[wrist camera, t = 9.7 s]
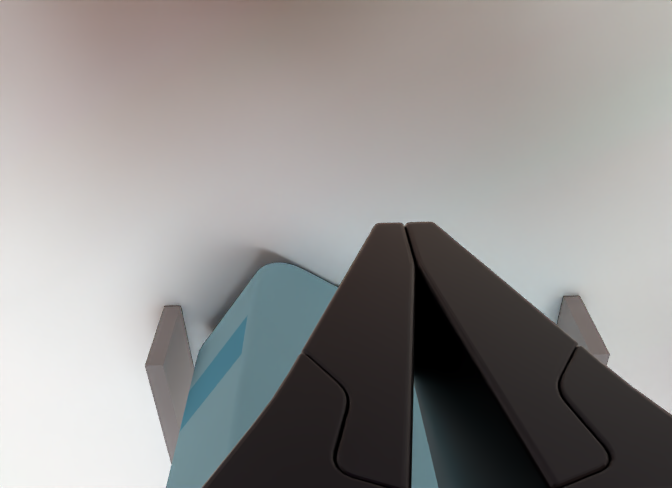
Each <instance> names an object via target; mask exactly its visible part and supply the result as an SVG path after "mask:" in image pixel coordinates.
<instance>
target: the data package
mask: <svg viewBox="0 0 672 488" xmlns="http://www.w3.org/2000/svg"><path fill="white" fill-rule="evenodd" d="M337 289H338V287H336V286H334V285H332V284H331V283H329V282H327V281H325V280H323V279H321V278H319V277H317V276H315V275H313V274H311V273H309V272H307V271H305V270H303V269H301V268H299V267H297V266H294V265H291V264H287V263H271V264H267V265H265V266H263V267H262V268H260V269H259V270H258V271H257V272H256V274H255V275H254V276H253V278H252V279H251V280H250V282H249V283H248V285H247V286H246V287H245V289H244V290H243V291H242V293H241V294H240V295H239V297H238V298H237V299H236V301H235V302H234V303H233V305H232V306H231V308H230V309H229V310H228V312H227V313H226V314H225V316H224V317H223V318H222V320H221V321H220V322H219V324H218V325H217V326H216V328H215V329H214V330H213V332H212V333H211V335H210V336H209V337H208V339H207V340H206V341H205V343H204V344H203V345H202V347H201V349H200V350H199V353H198V356H197V360H196V364H195V369H194V373H193V377H192V381H191V385H190V389H189V394H188V398H187V402H186V406H185V410H184V415H183V419H182V423H181V427H180V431H179V435H178V440H177V444H176V448H175V452H174V456H173V461H172V465H171V469H170V473H169V477H168V482H167V486H166V488H201V487H202V486H203V485H204V484H205V483H206V481H207V480H208V479H209V478H210V476H211V475H212V474H213V473H214V471H215V470H216V469H217V468H218V466H219V465H220V464H221V463H222V461H223V460H224V459H225V458H226V457H227V455H228V454H229V453H230V452H231V450H232V449H233V448H234V447H235V445H236V444H237V443H238V442H239V440H240V439H241V438H242V437H243V436H244V434H245V433H246V432H247V431H248V429H249V428H250V427H251V425H252V424H253V423H254V421H255V420H256V419H257V418H258V416H259V415H260V414H261V412H262V411H263V410H264V408H265V407H266V406H267V404H268V403H269V402H270V400H271V399H272V397H273V396H274V394H275V393H276V391H277V390H278V388H279V387H280V385H281V383H282V382H283V380H284V379H285V377H286V376H287V374H288V373H289V371H290V369H291V367H292V366H293V364H294V362H295V361H296V359H297V357H298V355H299V354H301V351H302V349H303V347H304V346H305V344H306V342H307V340H308V339H309V337H310V335H311V334H312V332H313V330H314V328H315V327H316V325H317V323H318V322H319V320H320V318H321V316H322V315H323V313H324V311H325V310H326V308H327V306H328V304H329V303H330V301H331V299H332V297H333V296H334V294H335V292H336V291H337ZM412 488H438V484H437V479H436V475H435V471H434V467H433V462H432V458H431V454H430V450H429V445H428V441H427V437H426V433H425V428H424V424H423V420H422V416H421V412H420V407H419V403H418V399H417V395H416V390H415V386H414V397H413V443H412Z"/></svg>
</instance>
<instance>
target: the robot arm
mask: <svg viewBox="0 0 672 488" xmlns="http://www.w3.org/2000/svg"><path fill="white" fill-rule="evenodd" d="M414 386H415V390H416V395H417V399H418V403H419V407H420V412H421V416H422V420H423V424H424V428H425V433H426V437H427V441H428V445H429V450H430V454H431V458H432V462H433V467H434V471H435V475H436V479H437V484H438V488H672V415H671V414H670V413H668V412H667V411H665V410H664V409H663V408H661V407H660V406H658V405H657V404H656V403H654V402H653V401H652V400H650V399H649V398H647V397H646V396H645V395H643V394H642V393H640V392H639V391H638V390H636V389H635V388H633V387H632V386H631V385H630V384H628V383H627V382H626V381H625V380H623V379H622V378H621V377H620V376H618V375H617V374H616V373H615V372H613V371H612V370H611V369H609V368H608V367H607V366H606V365H604V364H603V363H602V362H601V361H599V360H598V359H597V358H596V357H595V356H593V355H592V354H591V353H590V352H589V351H587V350H586V349H585V348H584V347H583V346H578V343H577V342H576V341H575V340H574V339H573V338H572V337H570V336H569V335H568V334H567V333H566V332H564V331H563V330H562V329H561V328H560V327H558V326H557V325H556V324H555V323H554V322H552V321H551V320H550V319H549V318H548V317H546V316H545V315H544V314H543V313H542V312H540V311H539V310H538V309H537V308H536V307H534V306H533V305H532V304H531V303H530V302H528V301H527V300H526V299H525V298H524V297H522V296H521V295H520V294H519V293H518V292H517V291H515V290H514V289H513V288H512V287H511V286H509V285H508V284H507V283H506V282H505V281H503V280H502V279H501V278H500V277H499V276H497V275H496V274H495V273H494V272H493V271H491V270H490V269H489V268H488V267H487V266H485V265H484V264H483V263H482V262H481V261H479V260H478V259H477V258H476V257H475V256H473V255H472V254H471V253H470V252H469V251H467V250H466V249H465V248H464V247H463V246H461V245H460V244H459V243H458V242H457V241H455V240H454V239H453V238H452V237H451V236H449V235H448V234H447V233H446V232H445V231H443V230H442V229H441V228H440V227H439V226H437V225H436V224H435V223H433V222H409V223H407V224H406V225H405V227H404V225H403V224H402V223H377V224H376V225H375V226H374V227H373V229H372V230H371V232H370V234H369V236H368V237H367V239H366V241H365V243H364V244H363V246H362V248H361V249H360V251H359V253H358V255H357V256H356V258H355V260H354V261H353V263H352V265H351V267H350V268H349V270H348V272H347V273H346V275H345V277H344V279H343V280H342V282H341V284H340V285H339V287H338V289H337V291H336V292H335V294H334V296H333V297H332V299H331V301H330V303H329V304H328V306H327V308H326V310H325V311H324V313H323V315H322V316H321V318H320V320H319V322H318V323H317V325H316V327H315V328H314V330H313V332H312V334H311V335H310V337H309V339H308V340H307V342H306V344H305V346H304V347H303V349H302V351H301V354H299V355H298V357H297V359H296V361H295V362H294V364H293V366H292V367H291V369H290V371H289V373H288V374H287V376H286V377H285V379H284V380H283V382H282V383H281V385H280V387H279V388H278V390H277V391H276V393H275V394H274V396H273V397H272V399H271V400H270V402H269V403H268V404H267V406H266V407H265V408H264V410H263V411H262V412H261V414H260V415H259V416H258V418H257V419H256V420H255V421H254V423H253V424H252V425H251V427H250V428H249V429H248V431H247V432H246V433H245V434H244V436H243V437H242V438H241V439H240V440H239V442H238V443H237V444H236V445H235V447H234V448H233V449H232V450H231V452H230V453H229V454H228V455H227V457H226V458H225V459H224V460H223V461H222V463H221V464H220V465H219V466H218V468H217V469H216V470H215V471H214V473H213V474H212V475H211V476H210V478H209V479H208V480H207V481H206V483H205V484H204V485H203V486H202V487H201V488H412V443H413V397H414Z"/></svg>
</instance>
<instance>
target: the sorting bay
mask: <svg viewBox="0 0 672 488" xmlns="http://www.w3.org/2000/svg"><path fill="white" fill-rule="evenodd" d="M557 326H558V327H560V328H561V329H562V330H563V331H564V332H566V333H567V334H568V335H569V336H570V337H572V338H573V339H574V340H575V341H576V342H577V343H578V346H583V347H584V348H585V349H586V350H587V351H589V352H590V353H591V354H592V355H593V356H595V357H596V358H597V359H598V360H599V361H601V362H602V363H603V364H604V365H607V362H608V359H609V355H610V354H609V352H608V350H607V348H606V346H605V344H604V342H603V340H602V338H601V336H600V334H599V332H598V330H597V328H596V326H595V324H594V323H593V321H592V319H591V317H590V315H589V313H588V311H587V309H586V307H585V305H584V303H583V301H582V299H581V297H580V296H568V297H563V301H562V305H561V310H560V314H559V319H558V323H557ZM145 368H146V371H147V375H148V379H149V382H150V386H151V390H152V394H153V397H154V401H155V405H156V409H157V412H158V416H159V420H160V423H161V427H162V431H163V435H164V438H165V442H166V446H167V450H168V453H169V457H170V461H171V464H172V461H173V456H174V452H175V448H176V444H177V440H178V435H179V431H180V427H181V423H182V419H183V415H184V410H185V406H186V402H187V398H188V394H189V389H190V385H191V381H192V377H193V373H194V367H193V363H192V358H191V353H190V348H189V343H188V339H187V334H186V329H185V324H184V320H183V315H182V310H181V306H164V309H163V312H162V315H161V318H160V321H159V324H158V327H157V330H156V333H155V337H154V340H153V343H152V346H151V349H150V352H149V355H148V358H147V361H146V364H145Z"/></svg>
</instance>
